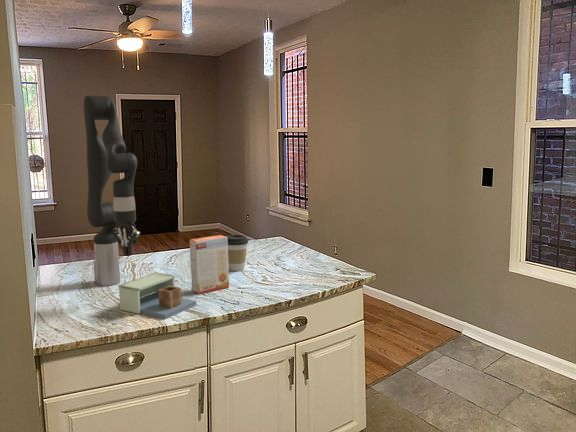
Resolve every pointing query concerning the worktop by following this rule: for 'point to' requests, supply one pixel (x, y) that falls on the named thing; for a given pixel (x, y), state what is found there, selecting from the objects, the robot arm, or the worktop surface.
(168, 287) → the wooden box
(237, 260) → the coffee cup
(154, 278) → the cover
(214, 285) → the cracker box
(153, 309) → the base
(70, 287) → the worktop surface
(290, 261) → the worktop surface
